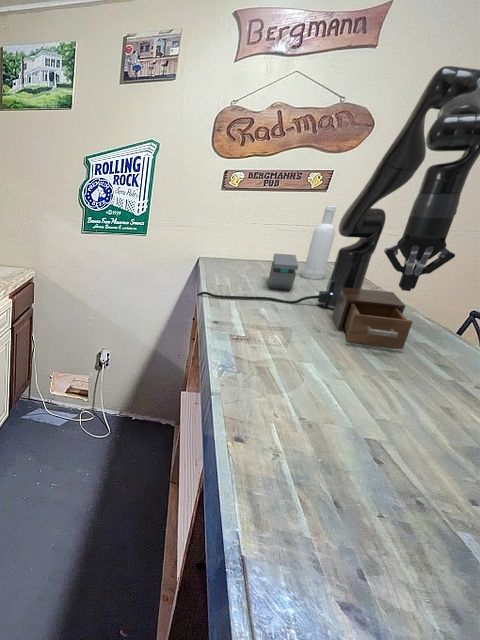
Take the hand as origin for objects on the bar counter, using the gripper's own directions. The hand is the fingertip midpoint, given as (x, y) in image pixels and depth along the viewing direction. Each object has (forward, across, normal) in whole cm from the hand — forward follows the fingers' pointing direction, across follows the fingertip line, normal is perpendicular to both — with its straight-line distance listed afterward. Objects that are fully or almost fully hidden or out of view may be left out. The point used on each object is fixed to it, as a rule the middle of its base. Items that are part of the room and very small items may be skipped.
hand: (405, 290), depth 109 cm
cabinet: (+19, 0, -32) cm, 37 cm away
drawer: (+18, 0, -16) cm, 24 cm away
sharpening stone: (+19, +22, -78) cm, 83 cm away
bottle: (+19, +9, -102) cm, 104 cm away
